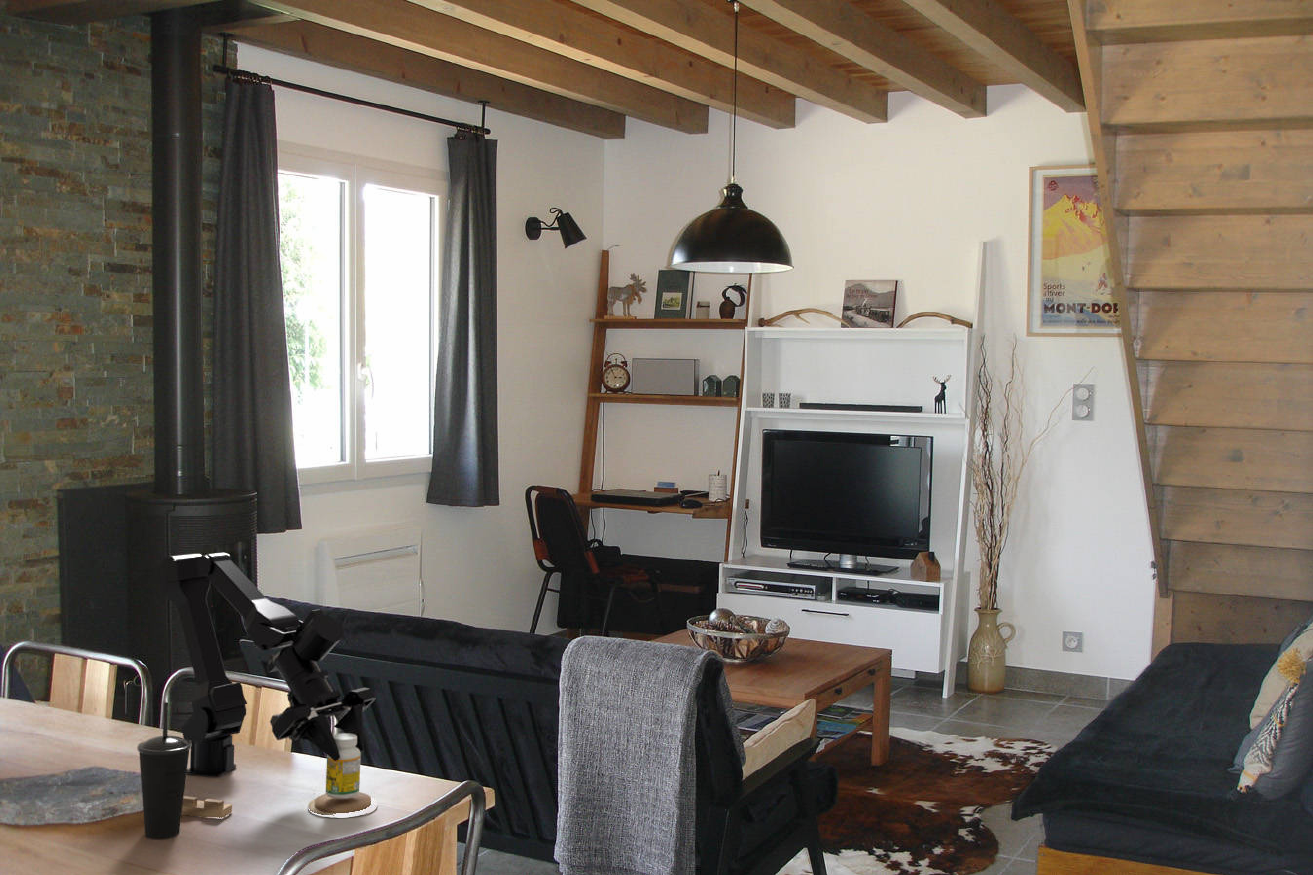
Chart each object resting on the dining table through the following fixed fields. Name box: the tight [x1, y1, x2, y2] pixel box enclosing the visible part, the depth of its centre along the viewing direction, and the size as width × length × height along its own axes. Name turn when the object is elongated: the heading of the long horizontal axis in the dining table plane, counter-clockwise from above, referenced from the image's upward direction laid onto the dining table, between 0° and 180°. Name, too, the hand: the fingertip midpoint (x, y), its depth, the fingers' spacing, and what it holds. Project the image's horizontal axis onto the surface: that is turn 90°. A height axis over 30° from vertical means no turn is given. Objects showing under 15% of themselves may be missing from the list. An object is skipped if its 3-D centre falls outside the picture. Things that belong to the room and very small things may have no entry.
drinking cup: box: [137, 701, 192, 840], centre depth 188 cm, size 8×8×20 cm
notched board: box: [181, 795, 233, 818], centre depth 197 cm, size 8×3×3 cm, turn 78°
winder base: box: [307, 791, 372, 816], centre depth 203 cm, size 11×11×1 cm
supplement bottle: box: [325, 732, 362, 799], centre depth 203 cm, size 5×5×10 cm
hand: (350, 755), depth 202 cm, fingers closed on supplement bottle, 5 cm apart
